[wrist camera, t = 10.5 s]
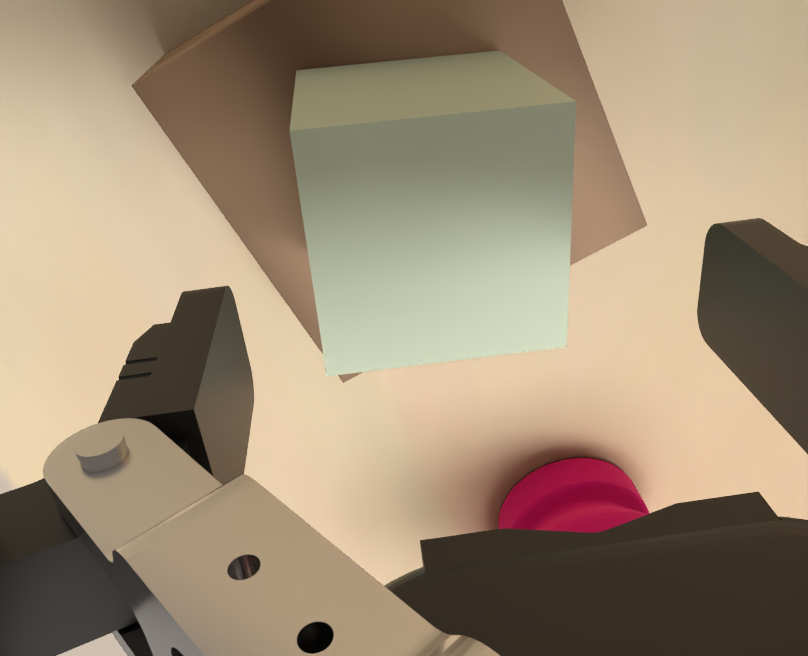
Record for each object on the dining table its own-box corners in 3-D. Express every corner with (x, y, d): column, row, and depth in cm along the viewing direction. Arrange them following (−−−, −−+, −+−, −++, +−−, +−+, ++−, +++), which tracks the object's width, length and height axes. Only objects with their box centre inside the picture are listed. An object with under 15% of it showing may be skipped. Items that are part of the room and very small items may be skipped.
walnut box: (464, -131, 20) (506, -145, 16) (589, 172, 25) (647, 225, 21) (166, 52, 22) (131, 85, 18) (337, 307, 27) (343, 382, 22)
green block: (499, 50, 18) (575, 100, 13) (501, 239, 20) (566, 347, 15) (296, 70, 18) (289, 130, 12) (322, 259, 20) (326, 376, 15)
